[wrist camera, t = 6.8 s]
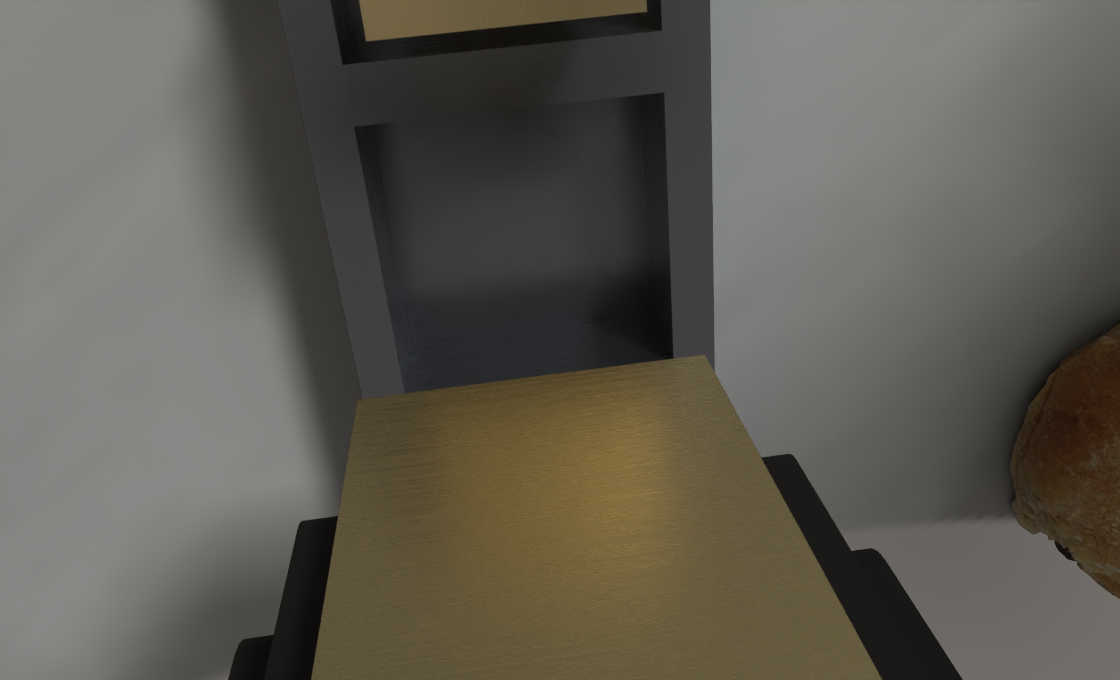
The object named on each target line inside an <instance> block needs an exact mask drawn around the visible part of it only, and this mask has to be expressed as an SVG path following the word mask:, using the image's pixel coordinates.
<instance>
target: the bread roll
mask: <svg viewBox="0 0 1120 680" xmlns="http://www.w3.org/2000/svg"><path fill="white" fill-rule="evenodd" d="M1010 472H1011V476H1012V480H1013V483H1014V486H1015V492H1016V497H1015V498H1014V499H1013V500H1011V501H1010V505H1011V508H1012V509H1013V512H1014V514H1015V517H1016V520H1017V521H1018V523H1019V524H1020V526H1021V527H1023V528H1024V529H1026V530H1027V531H1029V532H1030V533H1032V534H1036V533H1038V532H1042V533H1044V534H1046V535H1048V539H1049V540H1055V545H1056V547H1057V549H1058V550H1059V551H1060V552H1061V553H1062V554H1063V555H1064V556H1065V557H1066V558H1067V559H1069V560H1072V561H1077V565H1078V566H1079V567H1080V569H1082V570H1083V571H1084V572H1086V573H1087V574H1088V575H1089V576H1091V577H1092V578H1093V579H1094V580H1095V581H1096V582H1097V583H1098V584H1099V585H1101V586H1102V587H1103V588H1104V589H1106V590H1107V591H1108V592H1110V593H1111V594H1112V595H1114V596H1116V597H1118V598H1120V323H1119V324H1117V325H1116V326H1115V327H1113V328H1112V329H1111V330H1109V331H1108V332H1107V333H1104V334H1102V335H1100V336H1099V337H1098V338H1097V339H1095V340H1092V341H1090V342H1088V343H1086V344H1084V345H1083V346H1081V347H1079V348H1077V349H1076V350H1074V351H1073V352H1072V353H1071V354H1070V355H1068V356H1067V357H1066V358H1065V359H1063V360H1061V362H1060V365H1059V368H1058V369H1057V370H1056V371H1054V372H1053V373H1052V374H1051V375H1050V376H1049V377H1048V379H1047V383H1046V385H1045V386H1044V387H1043V388H1042V389H1041V390H1040V392H1039V393H1038V394H1037V396H1036V397H1035V398H1034V399H1033V400H1032V402H1031V403H1030V404H1029V405H1028V406H1027V414H1026V417H1025V420H1024V423H1023V426H1022V428H1021V430H1020V432H1019V434H1018V437H1017V440H1016V443H1015V446H1014V448H1013V453H1012V458H1011V462H1010Z"/></svg>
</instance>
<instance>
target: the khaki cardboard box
mask: <svg viewBox="0 0 1120 680" xmlns="http://www.w3.org/2000/svg"><path fill="white" fill-rule="evenodd" d="M359 3H360V8H361V14H362V20H363V26H364V31H365V37H366V41H375V40H384V39H394V38H403V37H413V36H422V35H431V34H441V33H450V32H460V31H469V30H479V29H488V28H497V27H507V26H516V25H526V24H535V23H545V22H554V21H563V20H573V19H582V18H592V17H601V16H611V15H620V14H629V13H639V12H647V2H646V0H359Z"/></svg>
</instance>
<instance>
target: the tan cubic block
mask: <svg viewBox="0 0 1120 680" xmlns="http://www.w3.org/2000/svg"><path fill="white" fill-rule="evenodd" d="M311 680H882V678H881V677H880V675H879V673H878V671H877V669H876V667H875V666H874V664H873V662H872V660H871V658H870V656H869V655H868V653H867V651H866V649H865V647H864V645H863V644H862V642H861V640H860V638H859V636H858V634H857V633H856V631H855V629H854V627H853V625H852V623H851V622H850V620H849V618H848V616H847V614H846V612H845V611H844V609H843V607H842V605H841V603H840V601H839V600H838V598H837V596H836V594H835V592H834V590H833V589H832V587H831V585H830V583H829V581H828V579H827V578H826V576H825V574H824V572H823V570H822V568H821V567H820V565H819V563H818V561H817V559H816V557H815V556H814V554H813V552H812V550H811V548H810V546H809V545H808V543H807V541H806V539H805V537H804V535H803V534H802V532H801V530H800V528H799V526H798V524H797V523H796V521H795V519H794V517H793V515H792V513H791V512H790V510H789V508H788V506H787V504H786V502H785V501H784V499H783V497H782V495H781V493H780V491H779V490H778V488H777V486H776V484H775V482H774V480H773V479H772V477H771V475H770V473H769V471H768V469H767V468H766V466H765V464H764V462H763V460H762V458H761V457H760V455H759V453H758V451H757V449H756V447H755V446H754V444H753V442H752V440H751V438H750V437H749V435H748V433H747V431H746V429H745V427H744V426H743V424H742V422H741V420H740V418H739V416H738V415H737V413H736V411H735V409H734V407H733V405H732V404H731V402H730V400H729V398H728V396H727V394H726V393H725V391H724V389H723V387H722V385H721V383H720V382H719V380H718V378H717V376H716V374H715V372H714V371H713V369H712V367H711V365H710V363H709V361H708V360H707V358H706V356H705V355H698V356H690V357H682V358H675V359H667V360H659V361H652V362H644V363H636V364H628V365H621V366H613V367H605V368H598V369H590V370H582V371H574V372H567V373H559V374H551V375H543V376H536V377H528V378H520V379H513V380H505V381H497V382H489V383H482V384H474V385H466V386H458V387H451V388H443V389H435V390H428V391H420V392H412V393H404V394H397V395H389V396H381V397H373V398H366V399H358V400H357V406H356V412H355V418H354V424H353V430H352V436H351V442H350V448H349V454H348V460H347V466H346V472H345V478H344V484H343V491H342V497H341V503H340V509H339V515H338V521H337V527H336V533H335V539H334V545H333V551H332V557H331V563H330V569H329V575H328V581H327V587H326V593H325V599H324V605H323V611H322V617H321V623H320V629H319V635H318V641H317V647H316V653H315V659H314V666H313V672H312V678H311Z"/></svg>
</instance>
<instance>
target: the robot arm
mask: <svg viewBox="0 0 1120 680" xmlns="http://www.w3.org/2000/svg"><path fill="white" fill-rule="evenodd" d="M762 460H763V462H764V464H765V466H766V468H767V469H768V471H769V473H770V475H771V477H772V479H773V480H774V482H775V484H776V486H777V488H778V490H779V491H780V493H781V495H782V497H783V499H784V501H785V502H786V504H787V506H788V508H789V510H790V512H791V513H792V515H793V517H794V519H795V521H796V523H797V524H798V526H799V528H800V530H801V532H802V534H803V535H804V537H805V539H806V541H807V543H808V545H809V546H810V548H811V550H812V552H813V554H814V556H815V557H816V559H817V561H818V563H819V565H820V567H821V568H822V570H823V572H824V574H825V576H826V578H827V579H828V581H829V583H830V585H831V587H832V589H833V590H834V592H835V594H836V596H837V598H838V600H839V601H840V603H841V605H842V607H843V609H844V611H845V612H846V614H847V616H848V618H849V620H850V622H851V623H852V625H853V627H854V629H855V631H856V633H857V634H858V636H859V638H860V640H861V642H862V644H863V645H864V647H865V649H866V651H867V653H868V655H869V656H870V658H871V660H872V662H873V664H874V666H875V667H876V669H877V671H878V673H879V675H880V677H881V678H882V680H962V678H961V676H960V675H959V674H958V672H957V670H956V669H955V667H954V666H953V664H952V663H951V661H950V659H949V658H948V657H947V655H946V654H945V652H944V650H943V649H942V647H941V646H940V644H939V643H938V641H937V639H936V638H935V637H934V635H933V633H932V632H931V630H930V629H929V627H928V626H927V624H926V622H925V621H924V619H923V618H922V616H921V615H920V613H919V612H918V610H917V609H916V607H915V605H914V604H913V602H912V601H911V599H910V598H909V596H908V595H907V593H906V591H905V590H904V589H903V587H902V586H901V584H900V582H899V581H898V579H897V577H896V576H895V574H894V573H893V571H892V570H891V568H890V567H889V565H888V564H887V562H886V561H885V559H884V558H883V557H882V556H881V554H880V553H879V552H878V551H876V550H874V549H872V548H870V549H863V550H856V551H851V550H850V548H849V546H848V545H847V543H846V541H845V540H844V538H843V536H842V535H841V533H840V531H839V530H838V528H837V526H836V525H835V523H834V521H833V520H832V518H831V516H830V515H829V513H828V511H827V510H826V508H825V507H824V505H823V503H822V502H821V500H820V498H819V497H818V495H817V493H816V492H815V490H814V488H813V487H812V485H811V483H810V482H809V480H808V478H807V477H806V475H805V473H804V472H803V470H802V468H801V467H800V465H799V464H798V462H797V460H796V459H795V458H794V456H793V455H791V454H785V455H777V456H770V457H763V458H762ZM337 521H338V516H335V517H328V518H321V519H313V520H306V521H302V522H300V524H299V526H298V530H297V534H296V539H295V543H294V548H293V552H292V556H291V561H290V565H289V570H288V574H287V579H286V583H285V587H284V592H283V596H282V601H281V605H280V610H279V614H278V618H277V623H276V627H275V632H274V635H269V636H263V637H256V638H249V639H243V641H242V642H241V643H240V644H239V645H238V648H237V651H236V653H235V656H234V660H233V664H232V667H231V671H230V675H229V678H228V680H311V678H312V672H313V666H314V659H315V653H316V647H317V641H318V635H319V629H320V623H321V617H322V611H323V605H324V599H325V593H326V587H327V581H328V575H329V569H330V563H331V557H332V551H333V545H334V539H335V533H336V527H337Z"/></svg>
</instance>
